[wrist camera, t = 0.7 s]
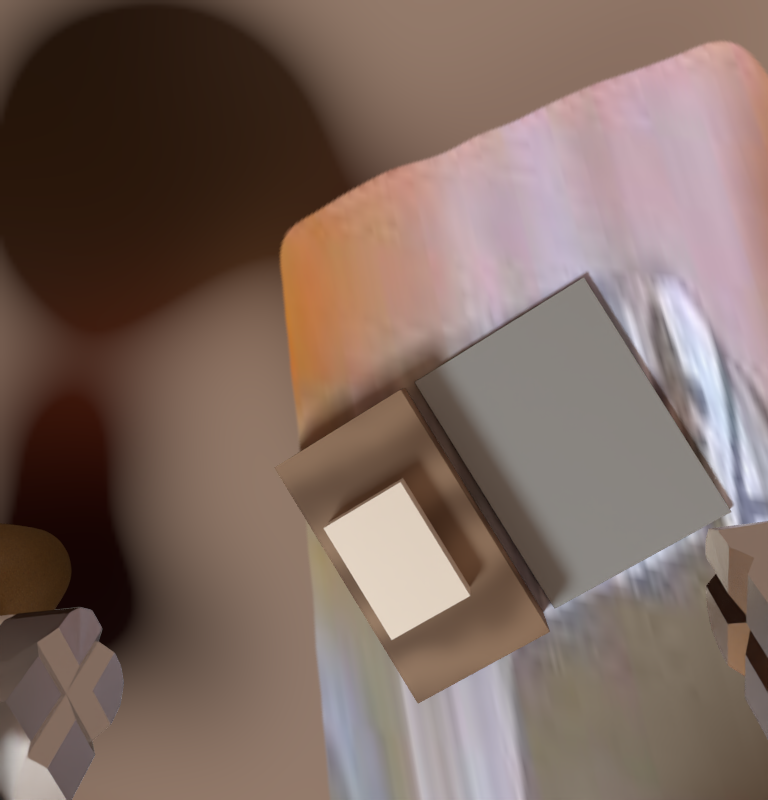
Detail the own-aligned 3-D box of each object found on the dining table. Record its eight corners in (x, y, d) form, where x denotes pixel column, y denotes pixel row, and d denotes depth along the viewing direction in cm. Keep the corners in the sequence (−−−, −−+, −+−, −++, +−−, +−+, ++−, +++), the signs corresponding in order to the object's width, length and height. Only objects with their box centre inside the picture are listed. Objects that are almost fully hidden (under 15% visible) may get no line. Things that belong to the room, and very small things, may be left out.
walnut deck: (543, 612, 53) (549, 631, 49) (421, 679, 55) (417, 703, 51) (404, 388, 54) (400, 389, 50) (287, 460, 55) (274, 467, 52)
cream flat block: (470, 587, 50) (470, 595, 48) (394, 629, 51) (391, 640, 49) (402, 477, 50) (400, 482, 48) (328, 522, 51) (323, 528, 49)
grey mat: (728, 510, 51) (731, 511, 51) (553, 606, 53) (554, 608, 53) (582, 278, 52) (583, 277, 51) (415, 382, 54) (414, 382, 53)
